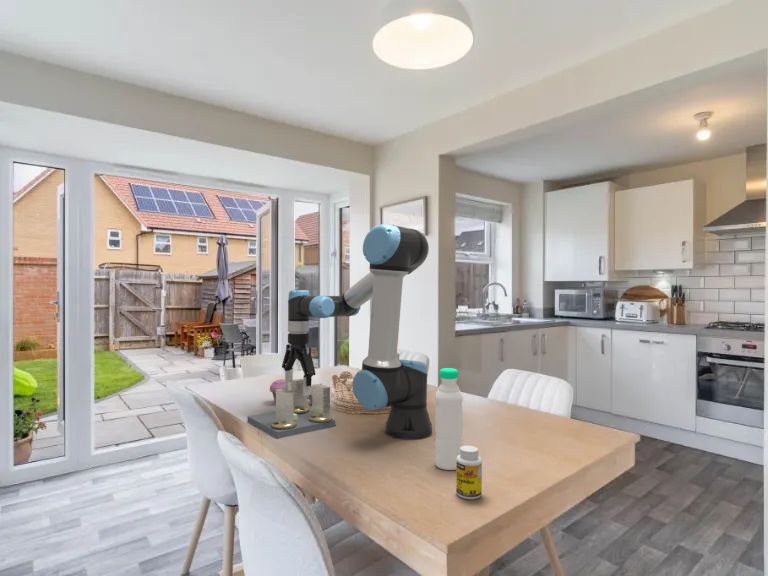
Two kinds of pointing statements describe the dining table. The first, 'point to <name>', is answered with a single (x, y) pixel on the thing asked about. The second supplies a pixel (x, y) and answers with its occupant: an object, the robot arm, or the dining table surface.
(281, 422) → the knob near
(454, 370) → the water bottle
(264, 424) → the board
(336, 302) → the robot arm
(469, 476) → the supplement bottle
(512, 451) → the dining table surface
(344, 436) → the dining table surface
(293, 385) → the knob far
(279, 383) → the cupcake
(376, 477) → the dining table surface
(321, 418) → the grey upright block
